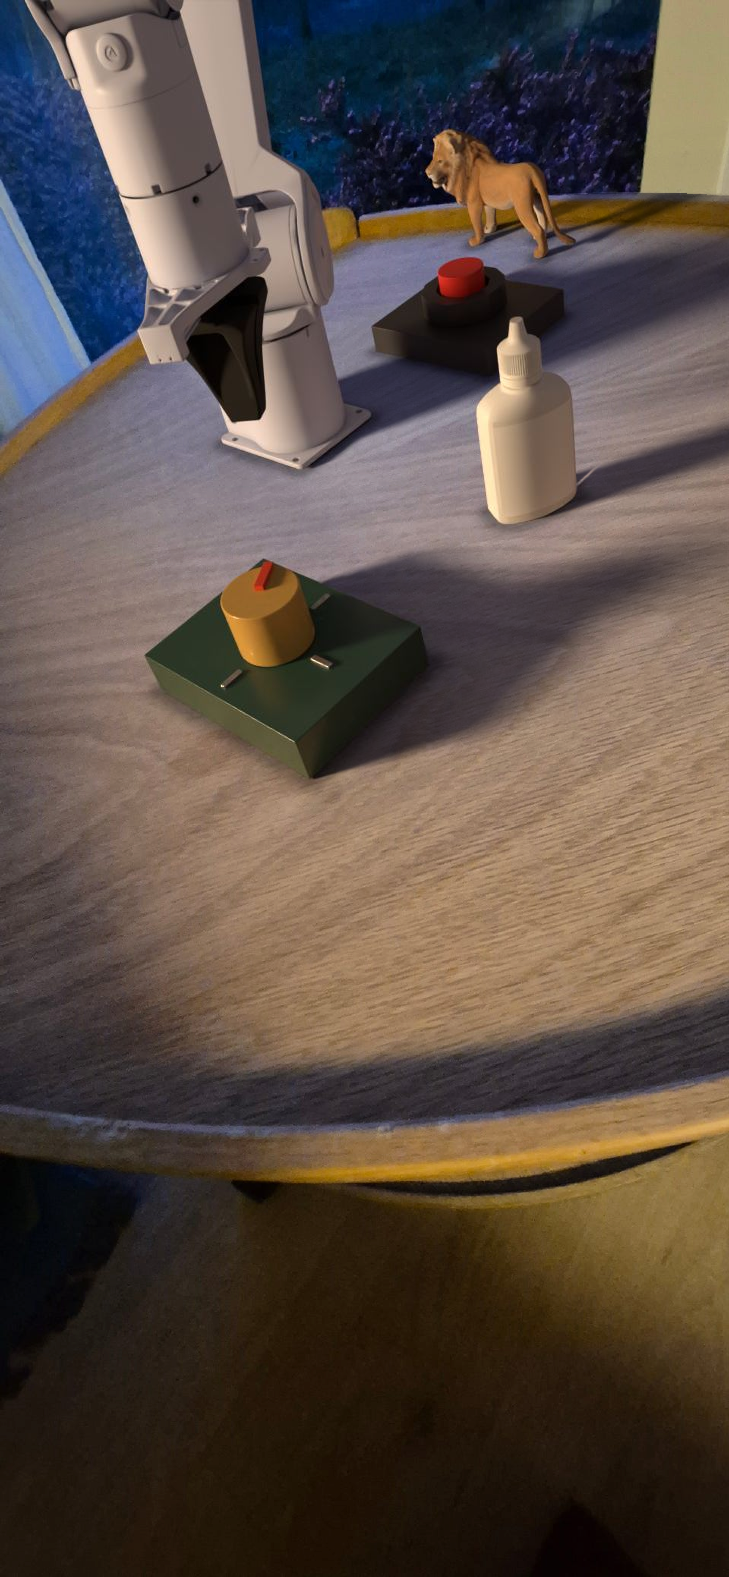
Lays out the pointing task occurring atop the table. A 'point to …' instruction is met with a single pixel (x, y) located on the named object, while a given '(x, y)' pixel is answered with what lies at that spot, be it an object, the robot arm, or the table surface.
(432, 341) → the button box
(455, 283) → the red button
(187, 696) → the control panel
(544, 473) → the eye dropper bottle
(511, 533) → the table surface
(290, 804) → the table surface
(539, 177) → the lion figurine
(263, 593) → the dial knob
